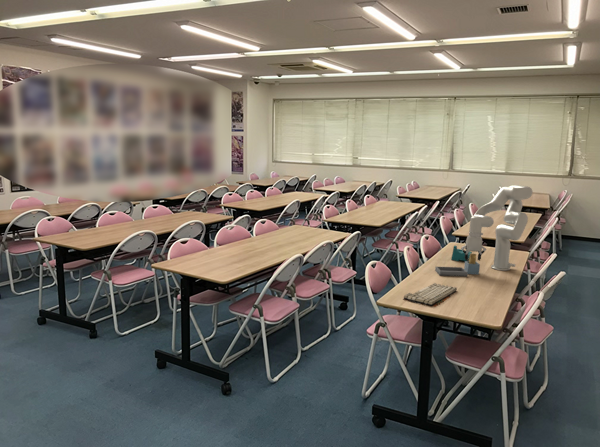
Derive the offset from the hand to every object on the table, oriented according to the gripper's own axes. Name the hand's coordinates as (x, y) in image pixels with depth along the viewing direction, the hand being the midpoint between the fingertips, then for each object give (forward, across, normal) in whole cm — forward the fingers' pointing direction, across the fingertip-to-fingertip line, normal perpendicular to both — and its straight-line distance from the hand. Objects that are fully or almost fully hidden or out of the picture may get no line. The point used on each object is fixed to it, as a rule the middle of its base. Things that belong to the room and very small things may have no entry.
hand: (472, 259), depth 317 cm
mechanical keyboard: (+10, +39, +51) cm, 65 cm away
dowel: (+9, 0, 0) cm, 9 cm away
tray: (+9, +15, +4) cm, 18 cm away
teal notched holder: (+9, -5, -39) cm, 40 cm away
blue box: (+9, 0, 0) cm, 9 cm away
